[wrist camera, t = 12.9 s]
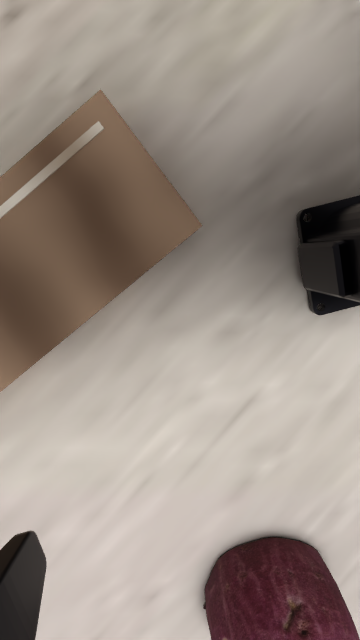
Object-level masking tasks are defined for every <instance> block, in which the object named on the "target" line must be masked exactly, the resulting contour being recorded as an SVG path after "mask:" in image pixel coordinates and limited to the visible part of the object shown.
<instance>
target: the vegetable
mask: <svg viewBox="0 0 360 640" xmlns="http://www.w3.org/2000/svg"><path fill="white" fill-rule="evenodd" d="M205 600H206V602H205V604H204V609H206V614H207V620H208V625H209V629H210V634H211V640H360V639H359V636H358V633H357V630H356V627H355V625H354V622H353V620H352V617H351V615H350V612H349V610H348V608H347V606H346V603H345V601H344V599H343V597H342V595H341V593H340V590H339V588H338V586H337V584H336V582H335V580H334V579H333V577H332V575H331V573H330V571H329V569H328V568H327V566H326V564H325V563H324V561H323V559H322V557H321V556H320V554H319V553H318V551H317V550H316V549H314V548H313V547H312V546H310V545H308V544H305V543H303V542H301V541H296V540H292V539H287V538H280V537H278V538H276V537H269V538H263V539H259V540H257V541H252V542H249V543H245V544H242V545H240V546H237V547H235V548H233V549H231V550H229V551H227V552H226V553H225V554H224V555H223V556H221V557H220V558H219V559H218V560H217V562H216V564H215V566H214V568H213V570H212V572H211V574H210V577H209V580H208V582H207V584H206V588H205Z"/></svg>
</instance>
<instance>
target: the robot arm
mask: <svg viewBox="0 0 360 640" xmlns="http://www.w3.org/2000/svg"><path fill="white" fill-rule="evenodd" d="M305 214H307V215H308V217H309V219H308V221H307V222H305V221H304V219H303V217H304V215H305ZM297 227H298V233H299V239H300V245H299V247H298V255H299V261H300V267H301V273H302V280H303V286H304V288H306V289H307V291H308V297H309V304H310V309H311V311H312V312H313V313H315V314H317V315H324V314H328V313H332V312H335V311H339V310H343V309H347V308H351V307H355V306H358V305H360V196H356V197H352V198H348V199H344V200H340V201H336V202H332V203H328V204H324V205H320V206H316V207H312V208H308V209H304V210H301V211H300V212H299V213H298V215H297ZM320 303H321V305H322V307H321V309H320V310H317V306H318V304H320ZM45 573H46V557H45V554H44V552H43V549H42V547H41V545H40V542H39V540H38V537H37V535H36V533H35V532H34V531H27V532H23V533H20V534H17V535H15V536H14V537H13V538H12V539H11V540H10V541H9V542H8V543H7V544H6V545H5V546H4V547H3V548H2V549H1V550H0V640H35V637H36V631H37V625H38V618H39V612H40V605H41V599H42V592H43V586H44V579H45Z"/></svg>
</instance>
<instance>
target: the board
mask: <svg viewBox="0 0 360 640" xmlns="http://www.w3.org/2000/svg"><path fill="white" fill-rule="evenodd" d="M201 226H202V225H201V223H200V222H199V221H198V219H197V218H196V217H195V215H194V214H193V213H192V211H191V210H190V209H189V207H188V206H187V205H186V203H185V202H184V200H183V199H182V198H181V196H180V195H179V194H178V192H177V191H176V190H175V188H174V187H173V186H172V184H171V183H170V182H169V180H168V179H167V178H166V176H165V175H164V174H163V172H162V171H161V170H160V168H159V167H158V166H157V164H156V163H155V162H154V160H153V159H152V158H151V156H150V155H149V154H148V152H147V151H146V150H145V148H144V147H143V146H142V144H141V143H140V142H139V140H138V139H137V138H136V136H135V135H134V134H133V132H132V131H131V130H130V128H129V127H128V125H127V124H126V123H125V121H124V120H123V119H122V117H121V116H120V115H119V113H118V112H117V111H116V109H115V108H114V107H113V105H112V104H111V103H110V101H109V100H108V99H107V97H106V96H105V95H104V93H103V92H102V91H101V90H99V91H98V92H97V93H96V94H95V95H94V96H93V97H91V98H90V99H89V100H88V101H87V102H86V103H85V104H83V105H82V106H81V107H80V108H79V109H78V110H77V111H75V112H74V113H73V114H72V115H71V116H70V117H69V118H67V119H66V120H65V121H64V122H63V123H62V124H61V125H59V126H58V127H57V128H56V129H55V130H54V131H53V132H51V133H50V134H49V135H48V136H47V137H46V138H45V139H43V140H42V141H41V142H40V143H39V144H38V145H37V146H35V147H34V148H33V149H32V150H31V151H30V152H29V153H27V154H26V155H25V156H24V157H23V158H22V159H21V160H19V161H18V162H17V163H16V164H15V165H14V166H13V167H11V168H10V169H9V170H8V171H7V172H6V173H5V174H3V175H2V176H1V177H0V392H1V391H2V390H3V389H4V388H6V387H7V386H8V385H9V384H11V383H12V382H13V381H14V380H15V379H17V378H18V377H19V376H20V375H21V374H23V373H24V372H25V371H26V370H28V369H29V368H30V367H31V366H32V365H34V364H35V363H36V362H37V361H38V360H40V359H41V358H42V357H43V356H45V355H46V354H47V353H48V352H49V351H51V350H52V349H53V348H54V347H55V346H57V345H58V344H59V343H60V342H62V341H63V340H64V339H65V338H66V337H68V336H69V335H70V334H71V333H73V332H74V331H75V330H76V329H77V328H79V327H80V326H81V325H82V324H83V323H85V322H86V321H87V320H88V319H90V318H91V317H92V316H93V315H94V314H96V313H97V312H98V311H99V310H100V309H102V308H103V307H104V306H105V305H107V304H108V303H109V302H110V301H111V300H113V299H114V298H115V297H116V296H117V295H119V294H120V293H121V292H122V291H124V290H125V289H126V288H127V287H128V286H130V285H131V284H132V283H133V282H135V281H136V280H137V279H138V278H139V277H141V276H142V275H143V274H144V273H145V272H147V271H148V270H149V269H150V268H152V267H153V266H154V265H155V264H156V263H158V262H159V261H160V260H161V259H162V258H164V257H165V256H166V255H167V254H169V253H170V252H171V251H172V250H173V249H175V248H176V247H177V246H178V245H179V244H181V243H182V242H183V241H184V240H186V239H187V238H188V237H189V236H190V235H192V234H193V233H194V232H195V231H196V230H198V229H199V228H200V227H201Z"/></svg>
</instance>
